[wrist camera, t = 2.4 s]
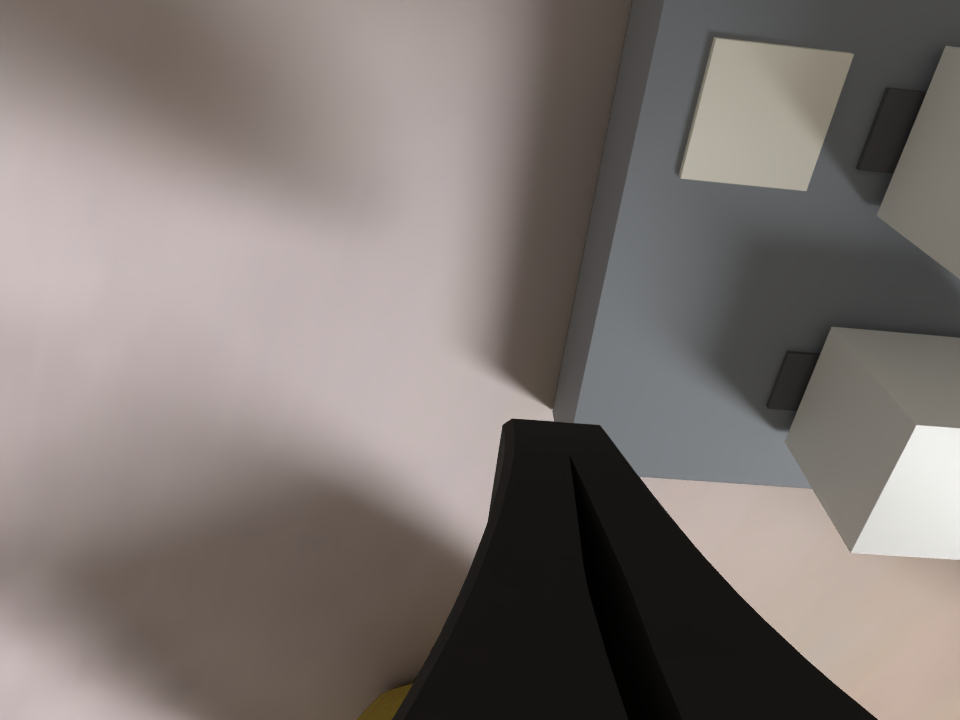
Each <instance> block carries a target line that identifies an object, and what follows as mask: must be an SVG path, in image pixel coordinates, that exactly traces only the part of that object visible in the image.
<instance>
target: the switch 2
mask: <svg viewBox="0 0 960 720" xmlns="http://www.w3.org/2000/svg"><path fill="white" fill-rule="evenodd" d="M877 216H878V217H879V218H880V219H882V220H883V221H884V222H885V223H887V224H888V225H889V226H891V227H892V228H893V229H895V230H896V231H897V232H899V233H900V234H901V235H902V236H904V237H905V238H906V239H908V240H909V241H910V242H912V243H913V244H914V245H916V246H917V247H918V248H919V249H921V250H922V251H923V252H925V253H926V254H927V255H929V256H930V257H931V258H933V259H934V260H935V261H936V262H938V263H939V264H940V265H942V266H943V267H944V268H946V269H947V270H948V271H950V272H951V273H952V274H953V275H955V276H956V277H957V278H959V279H960V47H952V46H945V49H944V51H943V53H942V56H941V58H940V61H939V63H938V66H937V68H936V71H935V73H934V76H933V78H932V81H931V83H930V85H929V88H928V90H927V93H926V95H925V98H924V100H923V103H922V105H921V108H920V110H919V113H918V115H917V117H916V120H915V122H914V125H913V127H912V130H911V132H910V135H909V137H908V140H907V142H906V145H905V147H904V149H903V152H902V154H901V157H900V159H899V162H898V164H897V167H896V169H895V172H894V174H893V177H892V179H891V181H890V184H889V186H888V189H887V191H886V194H885V196H884V199H883V201H882V204H881V206H880V209H879V211H878V213H877Z"/></svg>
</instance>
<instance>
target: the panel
mask: <svg viewBox="0 0 960 720" xmlns="http://www.w3.org/2000/svg"><path fill="white" fill-rule="evenodd" d="M945 46H952V47H960V0H633V1H632V6H631V11H630V16H629V21H628V27H627V32H626V37H625V42H624V47H623V52H622V57H621V63H620V68H619V73H618V78H617V83H616V88H615V93H614V98H613V104H612V109H611V114H610V119H609V124H608V129H607V134H606V140H605V145H604V150H603V155H602V160H601V165H600V170H599V175H598V181H597V186H596V191H595V196H594V201H593V206H592V211H591V217H590V222H589V227H588V232H587V237H586V242H585V247H584V253H583V258H582V263H581V268H580V273H579V278H578V283H577V288H576V294H575V299H574V304H573V309H572V314H571V319H570V324H569V330H568V335H567V340H566V345H565V350H564V355H563V360H562V365H561V371H560V376H559V381H558V386H557V391H556V396H555V401H554V407H553V417H554V422H566V423H580V424H594V425H600V426H601V427H602V428H603V429H604V431H605V432H606V433H607V435H608V436H609V437H610V438H611V440H612V441H613V442H614V444H615V445H616V446H617V448H618V449H619V450H620V452H621V453H622V455H623V456H624V457H625V459H626V460H627V461H628V463H629V464H630V465H631V467H632V468H633V469H634V471H635V472H636V473H637V475H638V476H639V477H651V478H665V479H680V480H694V481H708V482H723V483H737V484H752V485H766V486H780V487H795V488H809V489H812V487H811V485H810V484H809V482H808V480H807V479H806V477H805V475H804V474H803V472H802V470H801V469H800V467H799V465H798V464H797V462H796V460H795V459H794V457H793V455H792V453H791V452H790V450H789V448H788V447H787V445H786V443H785V440H786V437H787V435H788V432H789V430H790V428H791V425H792V423H793V420H794V418H795V415H796V413H797V410H798V408H799V405H800V403H801V400H802V398H803V396H804V393H805V391H806V388H807V386H808V383H809V381H810V378H811V376H812V373H813V371H814V368H815V366H816V364H817V361H818V359H819V356H820V354H821V351H822V349H823V346H824V344H825V341H826V339H827V337H828V334H829V332H830V329H831V327H842V328H854V329H865V330H877V331H889V332H900V333H912V334H923V335H935V336H946V337H958V338H960V279H959V278H957V277H956V276H955V275H953V274H952V273H951V272H950V271H948V270H947V269H946V268H944V267H943V266H942V265H940V264H939V263H938V262H936V261H935V260H934V259H933V258H931V257H930V256H929V255H927V254H926V253H925V252H923V251H922V250H921V249H919V248H918V247H917V246H916V245H914V244H913V243H912V242H910V241H909V240H908V239H906V238H905V237H904V236H902V235H901V234H900V233H899V232H897V231H896V230H895V229H893V228H892V227H891V226H889V225H888V224H887V223H885V222H884V221H883V220H882V219H880V218H879V217H878V216H877V213H878V211H879V209H880V206H881V204H882V201H883V199H884V196H885V194H886V191H887V189H888V186H889V184H890V181H891V179H892V177H893V174H894V172H895V169H896V167H897V164H898V162H899V159H900V157H901V154H902V152H903V149H904V147H905V145H906V142H907V140H908V137H909V135H910V132H911V130H912V127H913V125H914V122H915V120H916V117H917V115H918V113H919V110H920V108H921V105H922V103H923V100H924V98H925V95H926V93H927V90H928V88H929V85H930V83H931V81H932V78H933V76H934V73H935V71H936V68H937V66H938V63H939V61H940V58H941V56H942V53H943V51H944V49H945Z"/></svg>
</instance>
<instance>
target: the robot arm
mask: <svg viewBox="0 0 960 720" xmlns="http://www.w3.org/2000/svg"><path fill="white" fill-rule="evenodd" d="M392 720H878V719H877V718H875V717H874V716H873V715H872V714H870V713H869V712H868V711H867V710H866V709H864V708H863V707H862V706H861V705H860V704H858V703H857V702H856V701H855V700H853V699H852V698H851V697H850V696H849V695H847V694H846V693H845V692H844V691H842V690H841V689H840V688H839V687H838V686H836V685H835V684H834V683H833V682H832V681H831V680H829V679H828V678H827V677H826V676H825V675H824V674H823V673H821V672H820V671H819V670H818V669H817V668H816V667H815V666H813V665H812V664H811V663H810V662H809V661H808V660H807V659H805V658H804V657H803V656H802V655H801V654H800V653H799V652H798V651H797V650H796V649H795V648H794V647H793V646H792V645H791V644H789V643H788V642H787V641H786V640H785V639H784V638H783V637H782V636H781V635H780V634H779V633H778V632H777V631H776V630H775V629H774V628H772V627H771V626H770V625H769V624H768V623H767V622H766V621H765V620H764V619H763V618H762V617H761V616H760V615H759V614H758V613H757V612H756V611H755V610H754V609H753V608H752V607H751V606H750V605H749V604H748V603H747V602H746V601H745V600H744V599H743V598H742V597H741V596H740V595H739V594H738V593H737V592H736V591H735V590H734V589H733V588H732V587H731V585H730V584H729V583H728V582H727V581H726V580H725V579H724V578H723V577H722V576H721V575H720V574H719V572H718V571H717V570H716V569H715V568H714V567H713V566H712V565H711V564H710V563H709V562H708V561H707V560H706V558H705V557H704V556H703V555H702V554H701V553H700V551H699V550H698V549H697V548H696V547H695V546H694V545H693V543H692V542H691V541H690V540H689V539H688V537H687V536H686V535H685V534H684V532H683V531H682V530H681V529H680V528H679V526H678V525H677V524H676V523H675V522H674V520H673V519H672V518H671V517H670V515H669V514H668V513H667V512H666V511H665V509H664V508H663V507H662V506H661V504H660V503H659V502H658V501H657V499H656V498H655V497H654V495H653V494H652V493H651V492H650V490H649V489H648V488H647V486H646V485H645V484H644V482H643V481H642V480H641V479H640V477H639V476H638V475H637V473H636V472H635V471H634V469H633V468H632V467H631V465H630V464H629V463H628V461H627V460H626V459H625V457H624V456H623V455H622V453H621V452H620V450H619V449H618V448H617V446H616V445H615V444H614V442H613V441H612V440H611V438H610V437H609V436H608V435H607V433H606V432H605V431H604V429H603V428H602V427H601V426H600V425H594V424H580V423H566V422H552V421H538V420H524V419H511V420H509V421H508V422H506V423H505V424H503V426H502V433H501V439H500V446H499V452H498V459H497V465H496V472H495V478H494V485H493V491H492V498H491V504H490V511H489V517H488V522H487V526H486V528H485V531H484V534H483V536H482V539H481V542H480V544H479V547H478V549H477V552H476V555H475V557H474V560H473V563H472V565H471V568H470V570H469V573H468V575H467V578H466V580H465V582H464V584H463V587H462V589H461V591H460V593H459V596H458V598H457V600H456V602H455V604H454V607H453V609H452V611H451V613H450V615H449V617H448V619H447V621H446V623H445V625H444V627H443V629H442V631H441V633H440V635H439V637H438V639H437V641H436V643H435V645H434V646H433V648H432V650H431V652H430V654H429V656H428V658H427V659H426V661H425V663H424V665H423V667H422V669H421V670H420V672H419V674H418V676H417V678H416V680H415V681H414V683H413V685H412V687H411V688H410V690H409V692H408V694H407V695H406V697H405V699H404V700H403V702H402V704H401V705H400V707H399V709H398V710H397V712H396V714H395V715H394V717H393V718H392Z"/></svg>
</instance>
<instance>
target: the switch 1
mask: <svg viewBox="0 0 960 720" xmlns="http://www.w3.org/2000/svg"><path fill="white" fill-rule="evenodd" d="M785 443H786V445H787V447H788V448H789V450H790V452H791V453H792V455H793V457H794V459H795V460H796V462H797V464H798V465H799V467H800V469H801V470H802V472H803V474H804V475H805V477H806V479H807V480H808V482H809V484H810V485H811V487H812V489H813V490H814V492H815V494H816V496H817V497H818V499H819V501H820V502H821V504H822V506H823V507H824V509H825V511H826V512H827V514H828V516H829V517H830V519H831V521H832V522H833V524H834V526H835V527H836V529H837V531H838V533H839V534H840V536H841V538H842V539H843V541H844V543H845V544H846V546H847V548H848V549H849V551H850V553H859V554H875V555H891V556H906V557H922V558H938V559H954V560H960V338H958V337H946V336H935V335H923V334H912V333H900V332H889V331H877V330H865V329H854V328H842V327H831V329H830V332H829V334H828V337H827V339H826V341H825V344H824V346H823V349H822V351H821V354H820V356H819V359H818V361H817V364H816V366H815V368H814V371H813V373H812V376H811V378H810V381H809V383H808V386H807V388H806V391H805V393H804V396H803V398H802V400H801V403H800V405H799V408H798V410H797V413H796V415H795V418H794V420H793V423H792V425H791V428H790V430H789V432H788V435H787V437H786V440H785Z"/></svg>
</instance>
